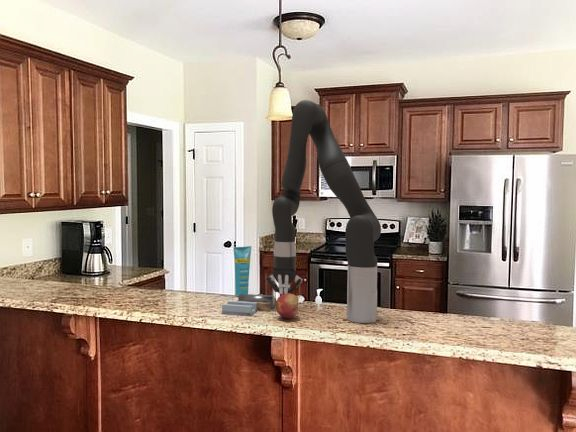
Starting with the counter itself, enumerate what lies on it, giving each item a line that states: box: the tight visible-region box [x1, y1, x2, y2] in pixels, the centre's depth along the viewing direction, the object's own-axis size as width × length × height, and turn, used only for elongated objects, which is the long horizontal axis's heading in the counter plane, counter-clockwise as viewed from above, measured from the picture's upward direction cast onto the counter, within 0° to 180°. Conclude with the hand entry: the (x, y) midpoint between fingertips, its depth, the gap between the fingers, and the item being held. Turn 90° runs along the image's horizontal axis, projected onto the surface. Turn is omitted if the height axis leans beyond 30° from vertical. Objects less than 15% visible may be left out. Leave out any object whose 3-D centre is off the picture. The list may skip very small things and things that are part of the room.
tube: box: [233, 245, 252, 297], centre depth 183 cm, size 7×5×19 cm, turn 123°
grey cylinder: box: [237, 293, 275, 310], centre depth 164 cm, size 12×4×4 cm, turn 77°
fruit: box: [274, 293, 299, 320], centre depth 149 cm, size 8×8×8 cm
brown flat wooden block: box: [241, 297, 277, 312], centre depth 164 cm, size 12×9×2 cm
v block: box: [221, 300, 258, 317], centre depth 156 cm, size 10×6×3 cm, turn 77°
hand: (284, 304), depth 162 cm, fingers closed
